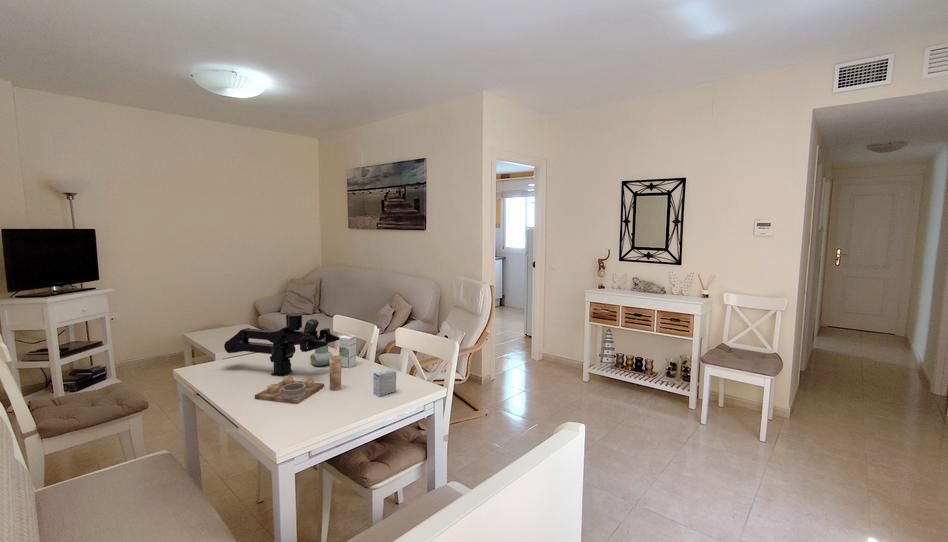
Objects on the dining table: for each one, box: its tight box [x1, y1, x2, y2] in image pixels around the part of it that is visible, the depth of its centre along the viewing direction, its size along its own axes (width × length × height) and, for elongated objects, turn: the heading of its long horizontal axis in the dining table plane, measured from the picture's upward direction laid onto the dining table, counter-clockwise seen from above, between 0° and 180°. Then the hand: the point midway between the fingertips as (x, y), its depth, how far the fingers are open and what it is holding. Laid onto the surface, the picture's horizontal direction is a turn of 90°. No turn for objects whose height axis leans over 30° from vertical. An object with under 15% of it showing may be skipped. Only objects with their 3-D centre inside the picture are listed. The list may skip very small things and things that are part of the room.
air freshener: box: [309, 344, 334, 367], centre depth 206 cm, size 11×8×10 cm
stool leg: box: [329, 355, 342, 391], centre depth 174 cm, size 4×4×13 cm
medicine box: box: [372, 368, 397, 397], centre depth 171 cm, size 8×4×9 cm, turn 135°
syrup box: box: [338, 334, 357, 369], centre depth 204 cm, size 6×6×14 cm
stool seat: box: [254, 375, 325, 405], centre depth 169 cm, size 18×18×4 cm
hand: (333, 341), depth 184 cm, fingers open, 9 cm apart
